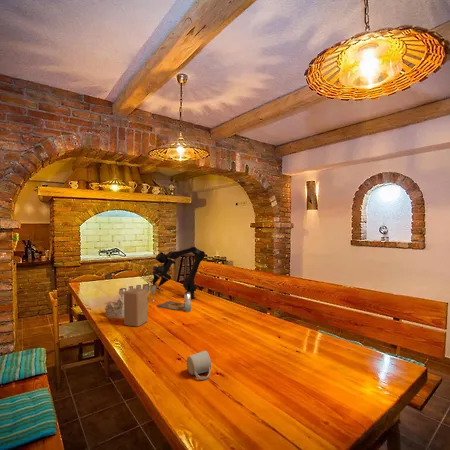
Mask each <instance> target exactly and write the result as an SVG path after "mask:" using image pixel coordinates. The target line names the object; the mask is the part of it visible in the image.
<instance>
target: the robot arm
mask: <svg viewBox="0 0 450 450" xmlns="http://www.w3.org/2000/svg"><path fill="white" fill-rule="evenodd" d="M190 253H192V254H193V255H194V256H193V257H194V260H193V264H192V266H191V269H190V272H189V275H188V277H187V278H184V279H183V282H182V287H183V288H184V290H185V291H190V292H191V301H192V300H194V299H197V297H196V296H195V292H196V291H197V288H196V286H195V277H196V275H197V272H198V269H199V267H200V264H201V262H203V260H204V258H205V256H206V253H205V251H203V250H201V249H198V248H197V247H195V246H189V247H186V248H183V249H179V250H170V251H168V253H163V252H162V251H160V252H159V253H158V254H157V255H156V256H155V258H154V259H155V261H158V262H159V263H161V264H162V265H158V266H156V265H153V268H152V271H151V273H153V275H152V277H153V276H154V279H153V280H152V284H151V285H154V284H155V283H158V284H157V285H158V287H159V288H161V287H162V285H164V284H165V283H166V282H168V281H171V279H172V276H171V275H170V274H168V272H170V271H171V267H172V266H173V265H176V261H175V260H177V259H179V258H180V257H181V256H183V255H188V254H190ZM158 281H159V282H158Z"/></svg>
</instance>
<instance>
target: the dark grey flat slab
mask: <svg viewBox="0 0 450 450" xmlns="http://www.w3.org/2000/svg"><path fill="white" fill-rule="evenodd" d="M156 308H162V309H167V310H173V311H176V312H177V311H181V310H184V302H177V301H174V300H173V301H172V300H169V301H166V302H163V303H160V304H158V305H156Z"/></svg>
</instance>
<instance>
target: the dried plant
mask: <svg viewBox="0 0 450 450" xmlns="http://www.w3.org/2000/svg"><path fill="white" fill-rule="evenodd" d="M153 259H154V257H152V259H151V262H150V269H151V267H152V266H153V261H154V260H153ZM144 265H145V267H146V271H147V273H146V272H145V271H141V269H139V267H138V268H137V267H136V270H137V271H138V272H137V273H138V274H139V275H138V276H139V277H140V278H141V279H142V280H143V282H145V283H146V284H149V285H153V284H152V283H153V279H154V276H153V273H152V271H150V270H148V268H147V266H148V264H147V262H145V264H144ZM126 268H127V267H124V268H123V267H121V270H122V269H124V270H127V269H126ZM132 272H133V270H132V269H130V273H132ZM154 285H156V291H155V292H158V293H159V294H161V292H162V293H164V290H163V289H162V288H163V286H160V287H159V286H158V285H159V284H158V282H156V283H155V284H154ZM149 292H150V288H149V291H148V293H149Z"/></svg>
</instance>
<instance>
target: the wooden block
mask: <svg viewBox="0 0 450 450" xmlns="http://www.w3.org/2000/svg"><path fill="white" fill-rule="evenodd" d="M147 301H148V293H147V290H146V289H143V288H141V289H136V287H133V289H131V290H127V291H125V292H124V318H123V321H124V322H123V323H124V325H125V326H129V327H136V328H138V327H140V326H141V325H143V324H146V323H147V322H148V302H147Z"/></svg>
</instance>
